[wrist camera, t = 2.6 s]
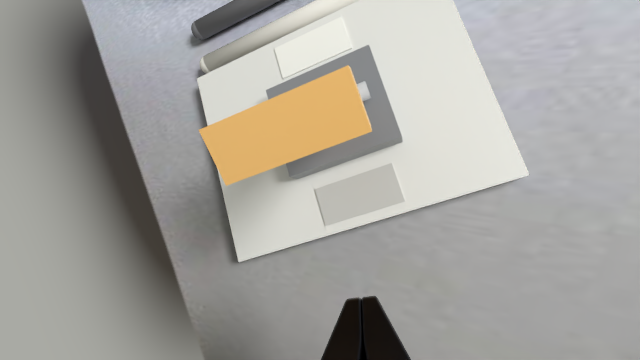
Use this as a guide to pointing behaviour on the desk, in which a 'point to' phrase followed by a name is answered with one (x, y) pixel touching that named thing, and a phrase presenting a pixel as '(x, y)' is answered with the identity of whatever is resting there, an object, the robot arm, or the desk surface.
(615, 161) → the desk surface
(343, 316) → the robot arm
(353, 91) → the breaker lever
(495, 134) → the breaker panel
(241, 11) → the rods
